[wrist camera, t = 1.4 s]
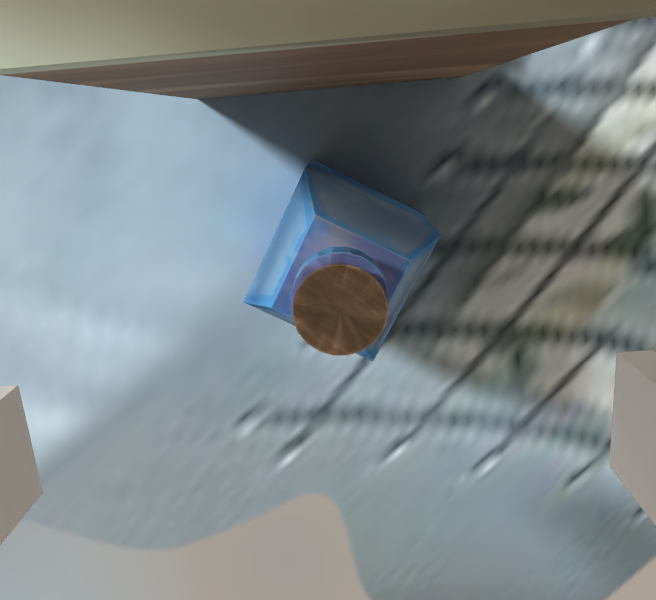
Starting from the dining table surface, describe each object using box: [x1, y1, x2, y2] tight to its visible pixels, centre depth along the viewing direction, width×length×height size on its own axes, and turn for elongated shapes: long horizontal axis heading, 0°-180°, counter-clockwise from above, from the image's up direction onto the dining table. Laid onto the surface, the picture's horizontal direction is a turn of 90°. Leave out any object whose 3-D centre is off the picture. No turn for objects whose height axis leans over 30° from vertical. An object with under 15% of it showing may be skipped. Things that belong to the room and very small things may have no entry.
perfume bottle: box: [244, 159, 441, 361], centre depth 26 cm, size 6×6×12 cm
